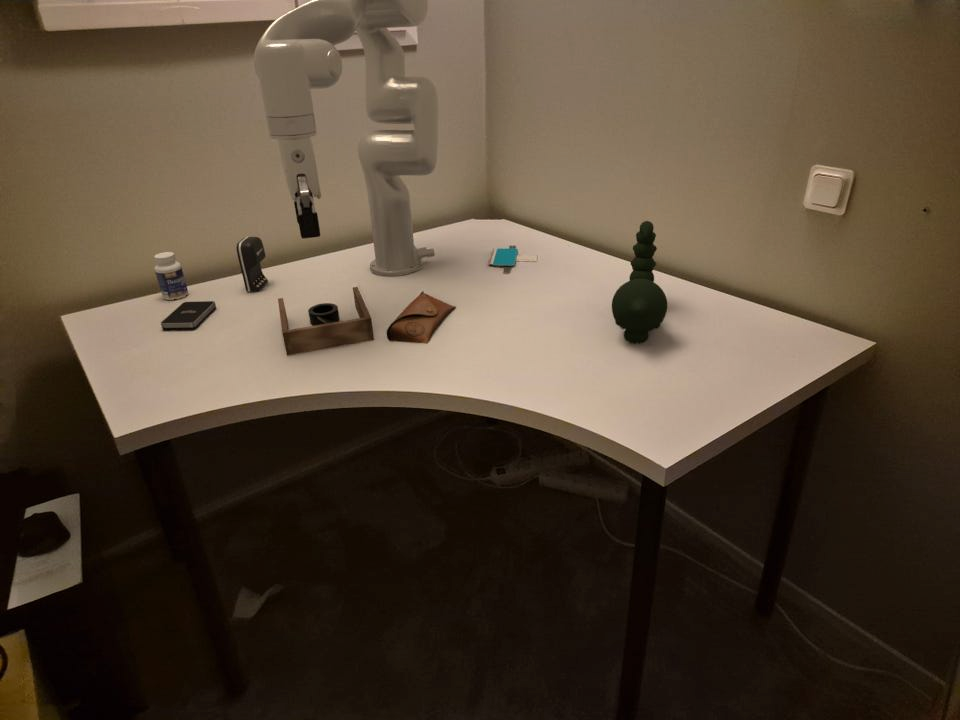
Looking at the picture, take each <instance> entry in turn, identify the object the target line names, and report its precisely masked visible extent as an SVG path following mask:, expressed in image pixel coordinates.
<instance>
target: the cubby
mask: <svg viewBox="0 0 960 720" xmlns="http://www.w3.org/2000/svg"><path fill="white" fill-rule="evenodd" d="M352 293H353V299H354V306H355V310H356V312H357V315H358V318H353V319H346V320H341V321H339V322H333V323H327V324H321V325H315V326H312V325H310V326H304V327H298V328H291V329H290V328H289V323H288V316H287V312H286V307H285V302H284V301H285V300H284V298H283V297H280V298H277V303H278V310H279V318H280V319H279V320H280V326H281V334H282V338H283V344H284V349H285V354H286V356H291V355H298V354H304V353H310V352H315V351H321V350H325V349H326V350H327V349H332V348H336V347H337V348H338V347H342V346H343V347H344V346H348V345H350V346H351V345H355V344H361V343H366V342H372V341H375V336H374V335H375V334H374V326H373V321H372V316H371V314H370V311H369V308H368V307H367V305H366V302H365V300H364V298H363V296H362V294H361V292H360V289H359V286H353V287H352Z"/></svg>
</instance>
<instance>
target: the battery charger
mask: <svg viewBox="0 0 960 720" xmlns="http://www.w3.org/2000/svg"><path fill="white" fill-rule="evenodd" d="M236 254H237V258H238V263H239V268H240V272H241V275H242V278H243V282H244V284H243V285H244V288H245V291H246V292H248V293H249V292H250V293H251V292H259V291H261V290H262V289H264V287H265V286H267V284H268V283H269V280H268V279H267V277H266V276H265V275H264V272H263V270H262V266H261V263H262V261H263V260H264V259H266V251H265V247H264V243H263V240H262V239H261V238H260V237H258V236H249V235H248V236H245V237H243V238H242V239H240V240H239V241H237V243H236Z"/></svg>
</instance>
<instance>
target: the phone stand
mask: <svg viewBox="0 0 960 720" xmlns="http://www.w3.org/2000/svg"><path fill="white" fill-rule="evenodd" d="M508 247H509V248H505V247H503V248H502V247H501V248H500V247H499V248H497V249H495V248H493V249H492V251H491V253H490V255H491V257H490V258H489V261H488V266H489V267H491V265H492V266H493V268H500V269H502V268H503V272H502V274H511V270H512V266H515V264H516V263H537V261H538V256H537V255H517V254H518V251H519V250H518V248H516V245H509V246H508Z"/></svg>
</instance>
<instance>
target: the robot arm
mask: <svg viewBox="0 0 960 720" xmlns="http://www.w3.org/2000/svg"><path fill="white" fill-rule="evenodd" d="M427 14H428V0H307V1H306V2H304V3H302V4H300V5H299V6H297V7H295V8H294V9H292V10H290V11H288V12H287V13H284V14H283V15H281V16H280V17H278V18H277V19H275V20H274V21H273V22H272V23H271V24H269V26H268V27H267V28H266V29H265V32H263V34H262V35H261V37H260V39H259V40H258V43H257V45H256V47H255V50H254V55H253V66H254V71H255V74H256V77H257V78H258V80H259V84H260V91H261V96H262V97H261V98H262V102H263V106H264V107H263V108H264V113H265V119H266V123H267V124H266V125H267V131H268V136H269V138H270V139H271V140H277V141H278V142H277V143H278V147H279V153H280V159H281V163H282V168H283V173H284V177H285V181H286V185H287V188H288V191H289V194H290V197H291V199H292V201H293V204H294V211H295V215H296V222H297V224H298V227H299V233H300V238H301V239H311V238H312V239H313V238H320V236H321V230H320V223H319V216H318V212H317V211H316V205H315V201H314V198H317V199H318V200H319V199H321V198H322V192H321V185H320V180H319V175H318V168H317V163H316V161H317V160H316V156H315V151H314V144H313V141H312V137H316V136H317V134H318V133H317V132H318V131H317V126H316V125H317V124H316V118H315V114H314V111H315V110H314V106H313V99H312V91H311V90H321V89H322V90H323V89H328V88H331V87H332V86H334V85H336V83H338V81H339V79H340V77H341V76H342V72H343V61H342V57H341V55H340V52H339V50H338V49H337V47H336V45H339V44H342V43H344V42H346V41H348V40H349V39H350V38H352V36H354V35H355V33H356V34H357V37H358V39H359V41H360V43H361V47H362V48H363V53H364V61H365V63H364V65H365V67H364V69H365V74H364V75H365V77H364V78H365V83H364V84H365V86H364V87H365V89H364V91H365V93H364V94H365V96H364V97H365V98H364V99H365V100H364V101H365V111H366V113H367V114H366V115H367V117H368V118H369V119H370V121H372V122H374V123H377V124H381V125H383V124H384V125H413V128H414V129H376V130H371V131H368V132H366V133H364V134H363V135H362V136H361V137H360V138H359V140H358V144H357V153H358V159H359V163H360V166H361V171H362V173H363V176H364V181H365V185H366V192H367V198H368V199H367V200H368V207H369V215H370V216H369V217H370V223H371V224H370V226H371V233H372V242H373V248H374V256H375V257H374V258H375V259H373V260H372V261H371V262H370V263H369V270H370V271H371V272H372V273H373V274H376V275H380V276H386V277H387V276H389V277H390V276H391V277H394V276H395V277H398V276H405V275H408V274H411V273H415V272H416V271H418V270H420V269H421V268H422V267H423V260H422V259H423V258H430V257H432V258H433V257H435V249H434V248H432V247H431V248H428V247H427V246H425V247H419V248H418V247H416V246H415V242H414V240H415V239H414V229H413V220H412V219H413V218H412V217H413V216H412V207H411V205H412V204H411V197H410V192H409V189H408V187H407V185H406V183H405V182H404V180H403V179H402V178H401V177H400V176H415V177H417V176H418V177H419V176H427V175H428V176H429V175H430V174H432V173H433V172H434V170H435V168H436V167H437V160H438V143H439V141H438V138H439V136H438V135H439V98H438V92H437V88H436V86H435V84H434V82H433V81H432V80H431V79H429V78H427V77H424V76H423V77H422V76H406V74H405V73H406V70H405V67H406V66H405V65H406V62H405V61H406V58H405V52H404V49H403V48H402V46H401V43H400V42H399V41H398V39H396V37H395V36H394V35H393V34H392V32H391V31H390V30H389V29H391V28H412V27H413V28H414V27H417V26H420V25H422V24H423V22H424V21H425V19H426V17H427Z"/></svg>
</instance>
